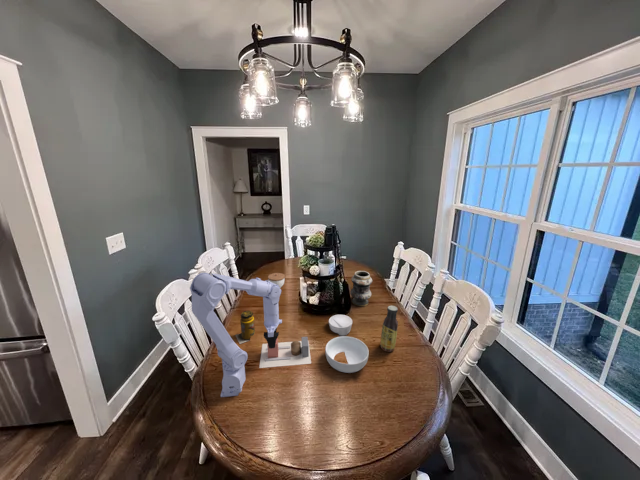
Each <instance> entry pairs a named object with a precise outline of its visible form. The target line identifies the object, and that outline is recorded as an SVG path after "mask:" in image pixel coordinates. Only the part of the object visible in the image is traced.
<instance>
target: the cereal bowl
mask: <svg viewBox="0 0 640 480" xmlns="http://www.w3.org/2000/svg"><path fill="white" fill-rule="evenodd" d="M324 349H325V357H326V361H327V362H328V364H329V365H330V366H331V367H332V368H333V369H334V370H336V371H338V372H342V373H345V374H346V373H348V374H351V373H352V374H353V373H356V372H359V371H361V370H362V369H363V368H364V367H365V366H366V365H367V363H368V360H369V353H370V352H369V348H368V346H367V345H366V343H364V342H363V341H362V340H360V339H359V338H356V337H353V336H347V335H344V336H337V337H334V338H332V339H330V340H329V341H328V342H327V343H326V345H325V348H324ZM340 353H344V355H345V358H346V361H347V362H346V363H343V362H339V361H337V360H335V356H336V355H338V354H340Z"/></svg>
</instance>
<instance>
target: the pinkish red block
mask: <svg viewBox="0 0 640 480" xmlns="http://www.w3.org/2000/svg"><path fill="white" fill-rule="evenodd" d="M278 343H279V338H278V337H277V339H276V344H275V348H269V346H268V343H266V344H267V347H268V358H272V357H278Z"/></svg>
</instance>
